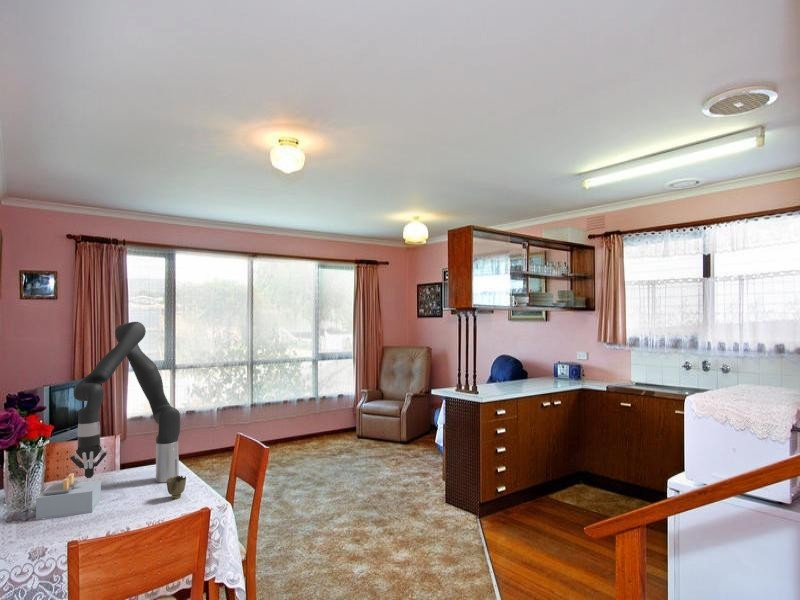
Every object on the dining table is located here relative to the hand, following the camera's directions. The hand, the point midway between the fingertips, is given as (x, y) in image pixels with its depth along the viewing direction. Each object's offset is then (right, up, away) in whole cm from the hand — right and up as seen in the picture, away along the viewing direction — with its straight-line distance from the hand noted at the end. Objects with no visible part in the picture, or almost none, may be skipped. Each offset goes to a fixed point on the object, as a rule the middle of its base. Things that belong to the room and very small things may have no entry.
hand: (89, 477), depth 191 cm
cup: (+31, -11, +7) cm, 34 cm away
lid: (-9, -3, -4) cm, 10 cm away
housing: (-6, -11, -3) cm, 13 cm away
